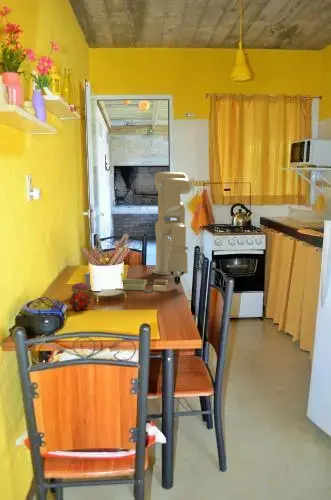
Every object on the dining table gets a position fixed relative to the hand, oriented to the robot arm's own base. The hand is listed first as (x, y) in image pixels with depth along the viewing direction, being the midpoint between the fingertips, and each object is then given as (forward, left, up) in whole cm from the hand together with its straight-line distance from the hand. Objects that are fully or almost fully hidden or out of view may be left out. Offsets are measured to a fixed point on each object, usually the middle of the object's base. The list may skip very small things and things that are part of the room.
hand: (177, 284), depth 216 cm
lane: (0, -18, -2) cm, 18 cm away
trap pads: (0, -14, -2) cm, 14 cm away
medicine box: (+10, -41, -3) cm, 42 cm away
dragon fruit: (+41, -40, -3) cm, 57 cm away
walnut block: (0, -9, -3) cm, 9 cm away
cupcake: (+24, -44, -3) cm, 50 cm away
